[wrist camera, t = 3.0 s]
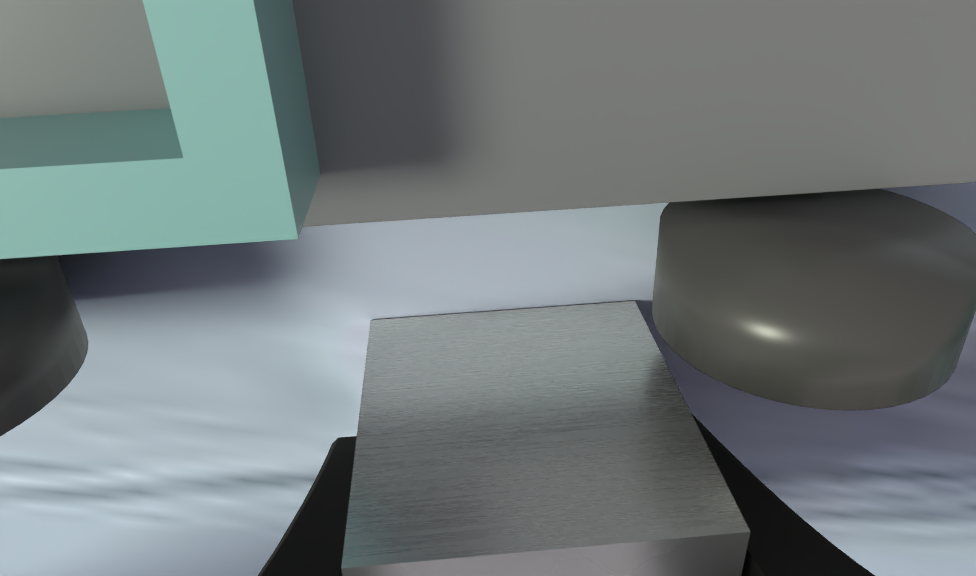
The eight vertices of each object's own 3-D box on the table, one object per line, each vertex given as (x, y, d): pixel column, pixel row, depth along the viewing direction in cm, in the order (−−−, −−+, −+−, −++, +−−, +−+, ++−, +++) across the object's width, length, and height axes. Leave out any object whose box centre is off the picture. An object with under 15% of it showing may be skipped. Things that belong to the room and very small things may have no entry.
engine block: (620, 491, 14) (704, 751, 10) (397, 510, 14) (386, 785, 10) (634, 300, 12) (750, 531, 8) (370, 320, 12) (341, 568, 8)
